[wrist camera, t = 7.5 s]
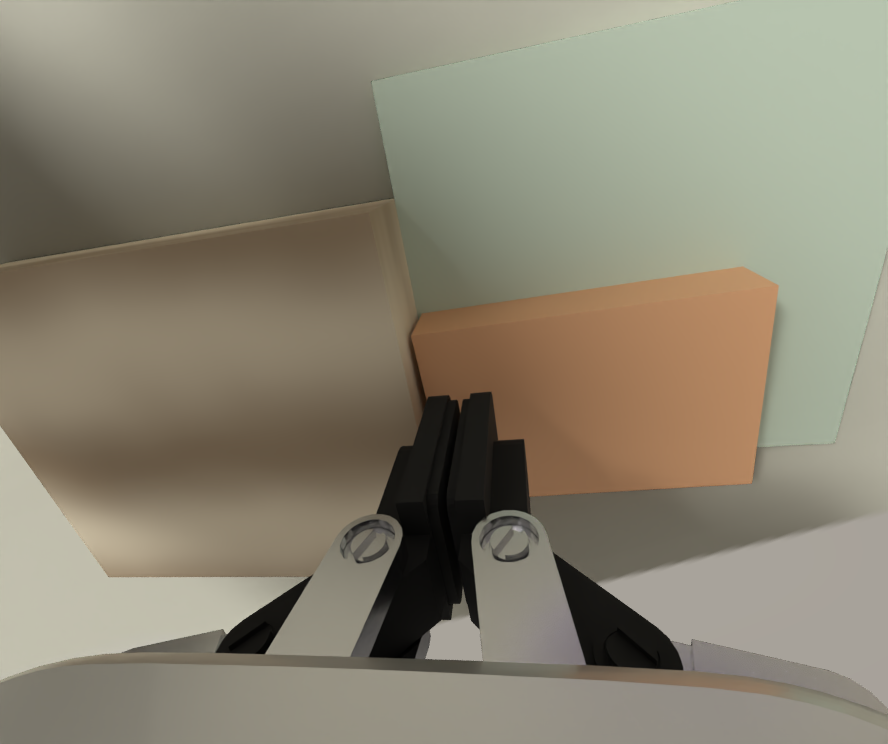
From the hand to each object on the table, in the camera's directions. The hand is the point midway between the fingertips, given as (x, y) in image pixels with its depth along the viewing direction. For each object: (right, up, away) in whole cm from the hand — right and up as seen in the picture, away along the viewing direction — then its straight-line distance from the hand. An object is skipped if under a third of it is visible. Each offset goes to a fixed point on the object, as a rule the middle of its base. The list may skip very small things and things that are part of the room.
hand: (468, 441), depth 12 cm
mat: (+5, +5, +1) cm, 7 cm away
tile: (+4, +2, +2) cm, 5 cm away
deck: (-8, +1, +5) cm, 9 cm away
